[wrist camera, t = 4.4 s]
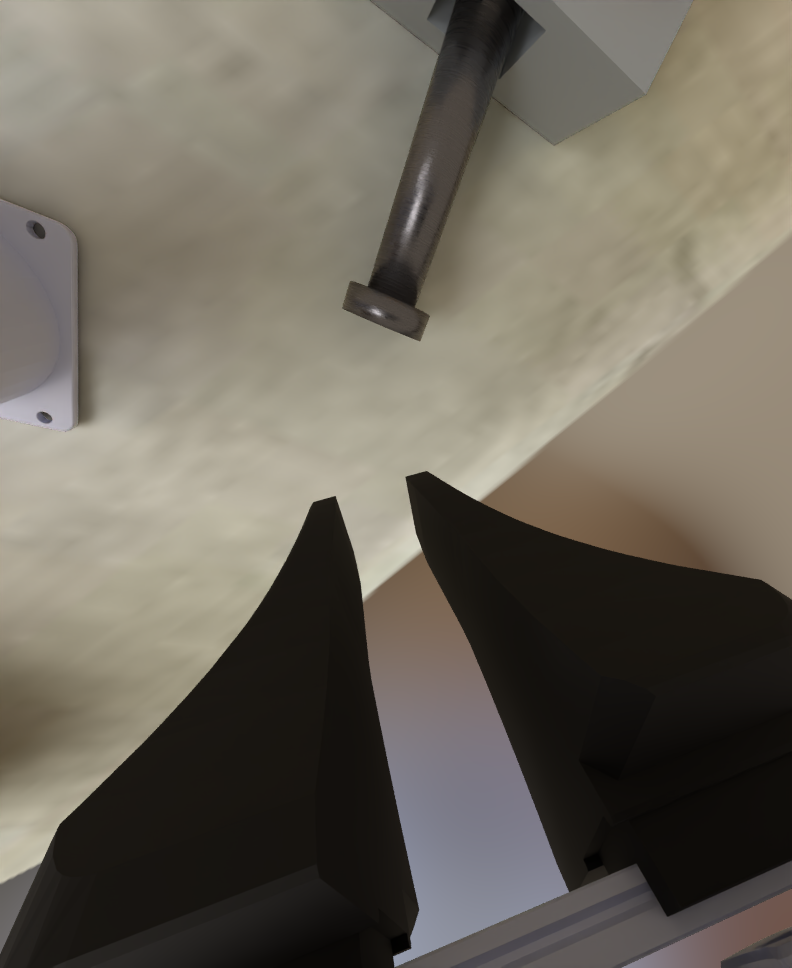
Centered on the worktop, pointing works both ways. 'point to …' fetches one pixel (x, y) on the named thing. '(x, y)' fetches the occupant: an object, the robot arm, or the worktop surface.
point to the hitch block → (566, 55)
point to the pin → (436, 162)
